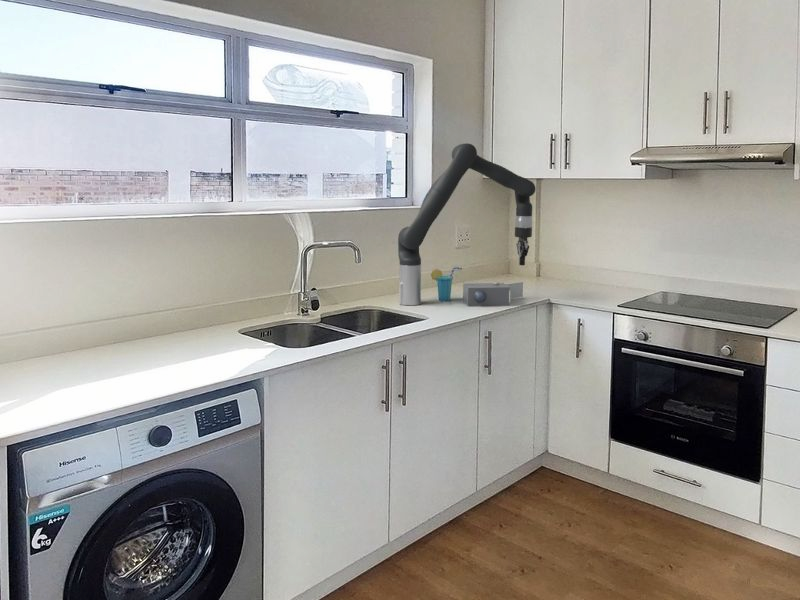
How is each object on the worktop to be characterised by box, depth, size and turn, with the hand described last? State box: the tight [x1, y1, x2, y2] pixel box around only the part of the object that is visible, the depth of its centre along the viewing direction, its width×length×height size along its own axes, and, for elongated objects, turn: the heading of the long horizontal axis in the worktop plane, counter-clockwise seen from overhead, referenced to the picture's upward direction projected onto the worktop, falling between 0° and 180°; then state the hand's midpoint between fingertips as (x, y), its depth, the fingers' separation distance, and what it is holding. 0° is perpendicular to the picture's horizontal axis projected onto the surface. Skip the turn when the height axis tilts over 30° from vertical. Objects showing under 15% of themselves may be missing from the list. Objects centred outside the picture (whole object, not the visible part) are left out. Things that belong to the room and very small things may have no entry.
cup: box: [430, 266, 462, 302], centre depth 306 cm, size 14×8×15 cm, turn 104°
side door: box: [505, 281, 524, 300], centre depth 309 cm, size 2×12×7 cm, turn 127°
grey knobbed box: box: [462, 281, 511, 307], centre depth 298 cm, size 18×14×9 cm
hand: (521, 265), depth 306 cm, fingers closed
